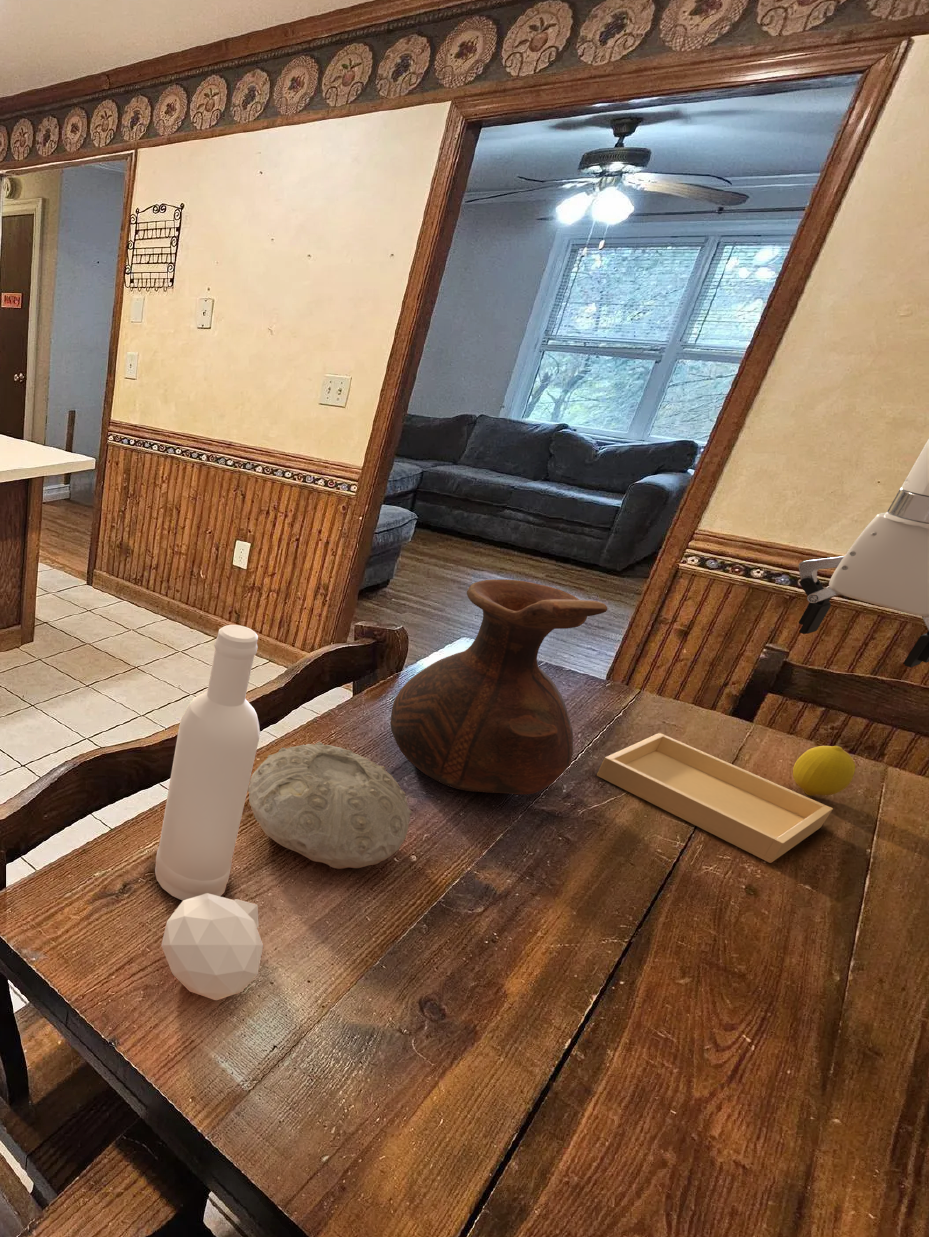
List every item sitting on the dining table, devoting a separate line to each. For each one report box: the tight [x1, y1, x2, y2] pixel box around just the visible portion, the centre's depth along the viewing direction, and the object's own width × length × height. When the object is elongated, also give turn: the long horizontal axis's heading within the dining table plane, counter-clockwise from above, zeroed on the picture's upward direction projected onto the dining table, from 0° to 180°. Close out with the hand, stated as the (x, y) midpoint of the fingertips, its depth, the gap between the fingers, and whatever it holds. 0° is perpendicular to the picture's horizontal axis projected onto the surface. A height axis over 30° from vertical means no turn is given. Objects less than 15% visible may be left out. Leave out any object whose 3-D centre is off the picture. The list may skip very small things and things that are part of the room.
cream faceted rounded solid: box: [160, 893, 264, 1001], centre depth 69 cm, size 9×9×12 cm
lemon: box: [792, 745, 856, 797], centre depth 102 cm, size 6×6×8 cm
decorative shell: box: [247, 741, 413, 870], centre depth 88 cm, size 18×18×10 cm
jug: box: [390, 578, 608, 795], centre depth 98 cm, size 22×22×30 cm
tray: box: [596, 732, 834, 864], centre depth 100 cm, size 20×16×3 cm
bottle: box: [154, 624, 261, 901], centre depth 76 cm, size 8×8×30 cm
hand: (857, 647), depth 92 cm, fingers open, 9 cm apart
